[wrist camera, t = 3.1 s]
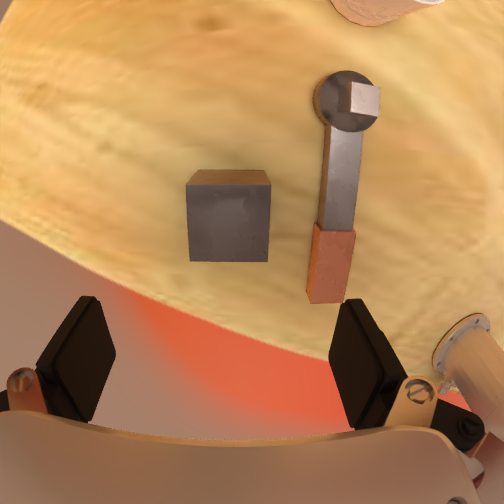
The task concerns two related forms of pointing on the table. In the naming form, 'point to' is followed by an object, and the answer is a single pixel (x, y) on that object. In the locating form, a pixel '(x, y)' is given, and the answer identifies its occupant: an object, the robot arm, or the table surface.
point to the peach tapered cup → (379, 9)
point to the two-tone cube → (228, 215)
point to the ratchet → (339, 179)
